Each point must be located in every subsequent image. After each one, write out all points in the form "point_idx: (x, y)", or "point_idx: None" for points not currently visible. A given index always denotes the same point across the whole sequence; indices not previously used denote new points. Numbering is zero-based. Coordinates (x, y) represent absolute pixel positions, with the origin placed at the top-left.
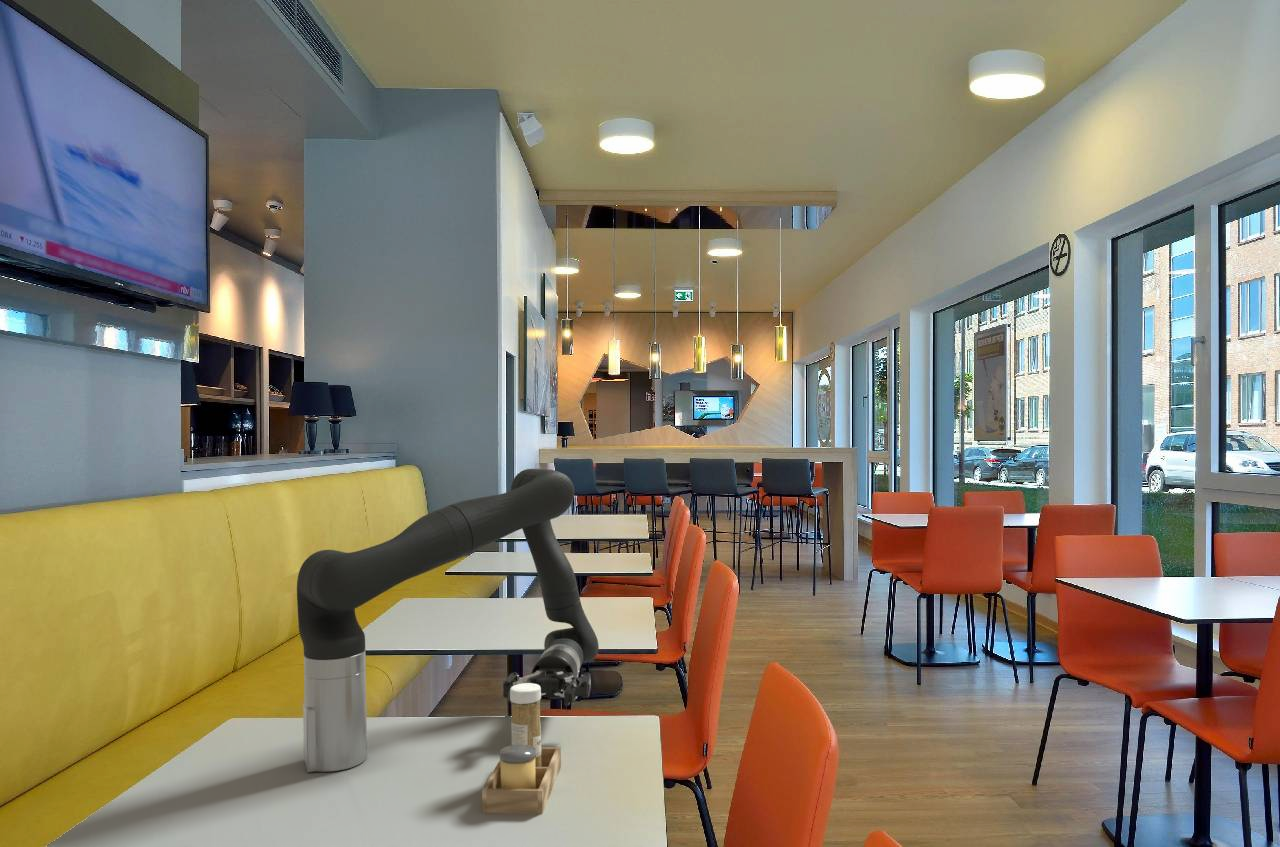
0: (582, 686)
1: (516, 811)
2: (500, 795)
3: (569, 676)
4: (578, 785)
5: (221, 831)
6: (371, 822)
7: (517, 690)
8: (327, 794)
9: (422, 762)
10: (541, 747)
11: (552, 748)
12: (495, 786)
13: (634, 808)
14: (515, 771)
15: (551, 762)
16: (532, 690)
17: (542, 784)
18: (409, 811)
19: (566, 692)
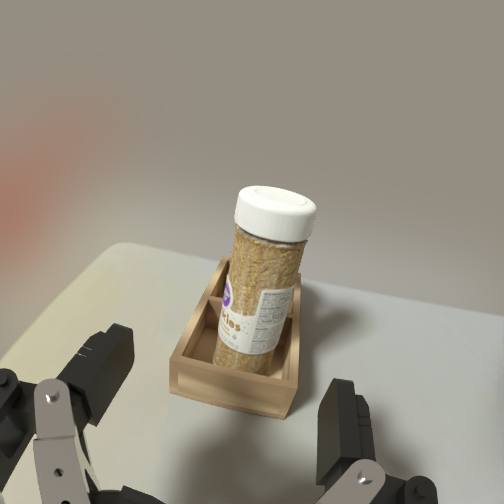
0: (23, 383)
1: None
2: None
3: (36, 448)
4: (152, 335)
5: (496, 319)
6: (405, 314)
7: (293, 192)
8: (488, 365)
9: (455, 455)
10: (214, 369)
11: (189, 358)
12: (289, 312)
13: (107, 272)
14: None
15: (200, 309)
16: (258, 186)
17: (221, 265)
18: (382, 325)
19: (121, 326)
